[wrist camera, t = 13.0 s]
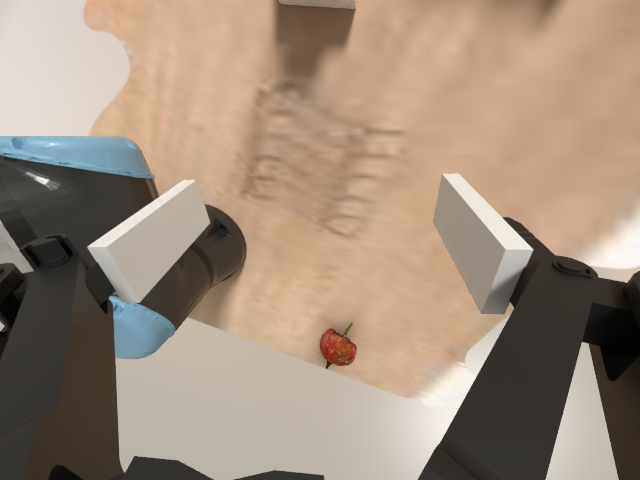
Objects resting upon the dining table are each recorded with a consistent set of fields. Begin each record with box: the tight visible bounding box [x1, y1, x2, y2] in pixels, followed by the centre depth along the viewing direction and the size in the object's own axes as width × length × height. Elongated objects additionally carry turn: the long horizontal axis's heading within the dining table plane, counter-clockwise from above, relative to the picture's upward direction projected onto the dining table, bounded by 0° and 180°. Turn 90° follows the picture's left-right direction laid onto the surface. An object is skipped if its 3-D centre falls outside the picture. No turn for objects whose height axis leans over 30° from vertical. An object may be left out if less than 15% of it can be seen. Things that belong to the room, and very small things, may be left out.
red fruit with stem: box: [320, 323, 357, 369], centre depth 53 cm, size 7×7×10 cm
